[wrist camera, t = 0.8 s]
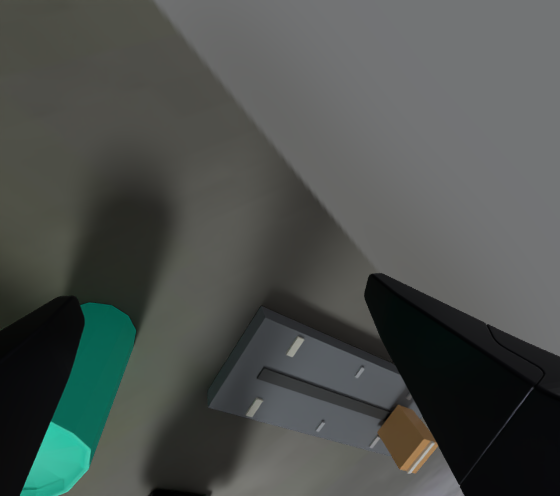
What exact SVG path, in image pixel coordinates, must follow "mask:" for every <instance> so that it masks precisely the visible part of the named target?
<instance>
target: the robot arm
mask: <svg viewBox="0 0 560 496" xmlns="http://www.w3.org/2000/svg"><path fill="white" fill-rule="evenodd" d="M364 297H365V301H366V303H367V306H368V308H369V311H370V313H371V316H372V318H373V321H374V323H375V326H376V328H377V331H378V333H379V335H380V338H381V340H382V342H383V343H384V345H385V347H386V349H387V351H388V353H389V355H390V357H391V359H392V360H393V362H394V364H395V366H396V368H397V370H398V372H399V373H400V375H401V377H402V379H403V381H404V383H405V385H406V387H407V388H408V390H409V392H410V394H411V396H412V398H413V400H414V402H415V403H416V405H417V407H418V409H419V411H420V413H421V415H422V417H423V418H424V420H425V422H426V424H427V426H428V428H429V430H430V431H431V433H432V435H433V437H434V439H435V441H436V443H437V445H438V446H439V448H440V450H441V452H442V454H443V456H444V458H445V460H446V461H447V463H448V465H449V467H450V469H451V471H452V473H453V475H454V476H455V478H456V480H457V482H458V484H459V485H461V486H460V488H461V490H462V492H463V494H464V496H560V357H559V356H557V355H555V354H553V353H550V352H548V351H546V350H543V349H541V348H539V347H536V346H534V345H532V344H529V343H527V342H525V341H523V340H520V339H518V338H516V337H514V336H512V335H510V334H508V333H505V332H503V331H501V330H499V329H497V328H495V327H493V326H490V325H489V324H487V325H486V323H484V322H482V321H480V320H478V319H476V318H474V317H472V316H470V315H468V314H466V313H464V312H462V311H459V310H457V309H455V308H453V307H451V306H449V305H447V304H445V303H443V302H441V301H439V300H437V299H434V298H433V297H430V296H428V295H426V294H424V293H422V292H420V291H418V290H416V289H414V288H412V287H410V286H407V285H406V284H403V283H401V282H399V281H397V280H395V279H393V278H391V277H389V276H387V275H385V274H382V273H375V274H370V275H369V277H368V281H367V285H366V289H365V293H364ZM84 326H85V318H84V315H83V312H82V309H81V306H80V304H79V301H78V299H77V297H75V296H60V297H57V298H55V299H53V300H52V301H50V302H48V303H47V304H45V305H43V306H41V307H40V308H38V309H36V310H35V311H33V312H31V313H30V314H28V315H26V316H25V317H23V318H21V319H20V320H18V321H16V322H15V323H13V324H11V325H10V326H8V327H6V328H4V329H3V330H1V331H0V496H20V494H21V492H22V489H23V487H24V485H25V482H26V480H27V477H28V475H29V473H30V470H31V468H32V465H33V463H34V461H35V458H36V456H37V454H38V451H39V449H40V446H41V444H42V442H43V439H44V437H45V434H46V432H47V430H48V427H49V425H50V423H51V420H52V418H53V415H54V413H55V411H56V408H57V406H58V403H59V401H60V399H61V396H62V394H63V391H64V389H65V387H66V384H67V382H68V379H69V377H70V374H71V371H72V368H73V364H74V361H75V357H76V354H77V350H78V347H79V343H80V340H81V336H82V333H83V329H84ZM150 496H200V495H193V494H186V493H179V492H172V491H165V490H154V491H153V492H152V493H151V495H150Z"/></svg>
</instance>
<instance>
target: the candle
mask: <svg viewBox="0 0 560 496" xmlns="http://www.w3.org/2000/svg"><path fill="white" fill-rule="evenodd" d="M80 306H81V309H82V312H83V315H84V318H85V326H84V329H83V333H82V336H81V340H80V343H79V347H78V350H77V354H76V357H75V361H74V364H73V368H72V371H71V374H70V377H69V379H68V382H67V384H66V387H65V389H64V391H63V394H62V396H61V399H60V401H59V403H58V406H57V408H56V411H55V413H54V415H53V418H52V420H51V423H50V425H49V427H48V430H47V432H46V434H45V437H44V439H43V442H42V444H41V446H40V449H39V451H38V454H37V456H36V458H35V461H34V463H33V465H32V468H31V470H30V473H29V475H28V477H27V480H26V482H25V485H24V487H23V489H22V492H21V494H20V496H58V495H61V494H63V493H66V492H68V491H69V490H70V489H71V488H72V487H73V485H74V484H75V483H76V482H77V481H78V480H79V479H80V478H81V477H82V476H83V475H84V474H85V473H86V471H87V470H88V469H89V467H90V464H91V461H92V459H93V456H94V453H95V450H96V448H97V445H98V442H99V439H100V437H101V434H102V431H103V429H104V426H105V423H106V420H107V418H108V415H109V412H110V409H111V407H112V404H113V401H114V398H115V396H116V393H117V390H118V388H119V385H120V382H121V379H122V377H123V374H124V371H125V368H126V366H127V363H128V360H129V357H130V355H131V352H132V349H133V347H134V341H135V335H136V329H135V327H134V325H133V324H132V322H131V320H130V318H129V316H128V315H127V314H125V313H123V312H122V311H120V310H119V309H117V308H115V307H114V306H112V305H107V304H99V303H90V302H89V303H85V304H82V305H80Z"/></svg>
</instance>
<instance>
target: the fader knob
mask: <svg viewBox="0 0 560 496" xmlns="http://www.w3.org/2000/svg"><path fill="white" fill-rule="evenodd" d="M377 433H378V435H379V436H380V438H381V440H382V441H383V443H384V445H385V446H386V448H387V449H388V451H389V453H390V454H391V456H392V458H393V459H394V461H395V463H396V464H397V466H398V468H399V469H400V470H404V471H407V473H409V474H411V472H412V473H416V472H417V471H418V470H419V469H420V467H421V466H422V465H423V464H424V462H425V461H426V460H427V459H428V458H429V456H430V455H431V454H432V453H433V451H434V450H435V449H436V448H437V447H438V445H437V443H436V441H435V439H434V437H433V435H432V433H431V432H430V431H429V430H428V428H427V427H426V426H425V425H424V423H423V422H422V421H421V420H420V418H419V417H418V416H417V415H416V413H415V412H414V411H413V410H412V409H409V408H406V407H403V406H401V405H398V406H397V407H396V408H395V410H394V411H393V412H392V413H391V415H390V416H389V417H388V419H387V420H386V421H385V423H384V424H383V425H382V426H381V428H380V429H379V430H378V432H377Z"/></svg>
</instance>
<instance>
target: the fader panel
mask: <svg viewBox="0 0 560 496" xmlns="http://www.w3.org/2000/svg"><path fill="white" fill-rule="evenodd" d="M398 405H401V406H403V407H406V408H409V409H412V410H413V411H414V412H415V413H416V415H417V416H418V417H419V418H420V419H421V418H422V415H421V413H420V411H419V409H418V407H417V405H416V403H415V402H414V400H413V398H412V396H411V394H410V392H409V390H408V388H407V387H406V385H405V383H404V381H403V379H402V377H401V375H400V373H399V372H398V370H397V368H396V366H395V364H392V363H390V362H388V361H386V360H383V359H381V358H379V357H376V356H374V355H372V354H370V353H367V352H365V351H363V350H361V349H358V348H356V347H354V346H351V345H349V344H347V343H345V342H342V341H340V340H338V339H336V338H333V337H331V336H329V335H326V334H324V333H322V332H320V331H317V330H315V329H313V328H311V327H308V326H306V325H304V324H301V323H299V322H297V321H295V320H292V319H290V318H288V317H286V316H283V315H281V314H279V313H276V312H274V311H272V310H270V309H267V308H265V307H263V306H261V307H260V308H259V310H258V312H257V313H256V315H255V316H254V318H253V320H252V321H251V323H250V324H249V326H248V327H247V329H246V331H245V332H244V334H243V335H242V337H241V339H240V340H239V342H238V343H237V345H236V346H235V348H234V350H233V351H232V353H231V354H230V356H229V358H228V359H227V361H226V362H225V364H224V365H223V367H222V369H221V370H220V372H219V373H218V375H217V377H216V378H215V380H214V381H213V383H212V384H211V386H210V388H209V389H208V408H211V409H215V410H219V411H223V412H226V413H230V414H234V415H238V416H241V417H245V418H249V419H253V420H256V421H260V422H264V423H268V424H271V425H275V426H279V427H283V428H286V429H290V430H294V431H298V432H301V433H305V434H309V435H312V436H316V437H320V438H324V439H327V440H331V441H335V442H339V443H342V444H346V445H350V446H354V447H357V448H361V449H365V450H369V451H372V452H376V453H380V454H384V455H387V456H391V454H390V453H389V451H388V449H387V448H386V446H385V445H384V443H383V441H382V440H381V438H380V436H379V435H378V433H377V432H378V430H379V429H380V428H381V426H382V425H383V424H384V423H385V421H386V420H387V419H388V417H389V416H390V415H391V413H392V412H393V411H394V410H395V408H396V407H397V406H398Z"/></svg>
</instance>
